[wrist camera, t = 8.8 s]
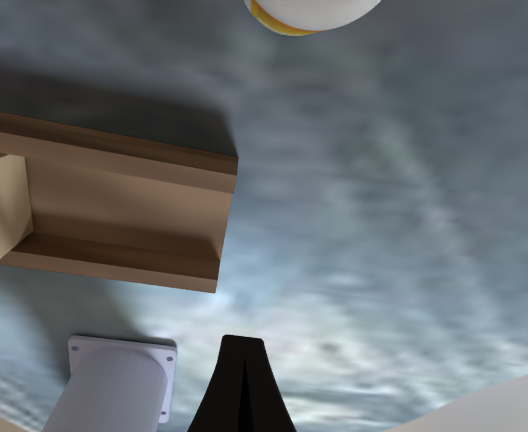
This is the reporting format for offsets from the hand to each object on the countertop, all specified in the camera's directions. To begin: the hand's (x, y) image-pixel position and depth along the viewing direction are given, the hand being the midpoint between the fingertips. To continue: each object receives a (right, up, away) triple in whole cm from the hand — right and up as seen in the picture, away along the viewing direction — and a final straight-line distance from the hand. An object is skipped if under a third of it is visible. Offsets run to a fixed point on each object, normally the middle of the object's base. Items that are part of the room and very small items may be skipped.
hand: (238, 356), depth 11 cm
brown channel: (-10, +6, +8) cm, 14 cm away
